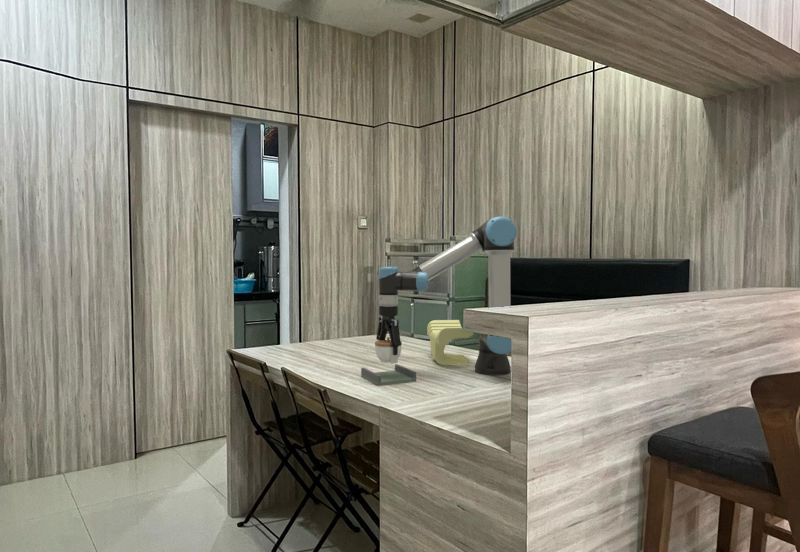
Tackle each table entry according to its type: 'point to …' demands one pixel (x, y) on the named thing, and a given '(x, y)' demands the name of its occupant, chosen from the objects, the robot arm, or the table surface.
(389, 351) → the lidded jar
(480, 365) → the robot arm
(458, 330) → the slatted curved stool
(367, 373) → the tray
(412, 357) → the table surface
